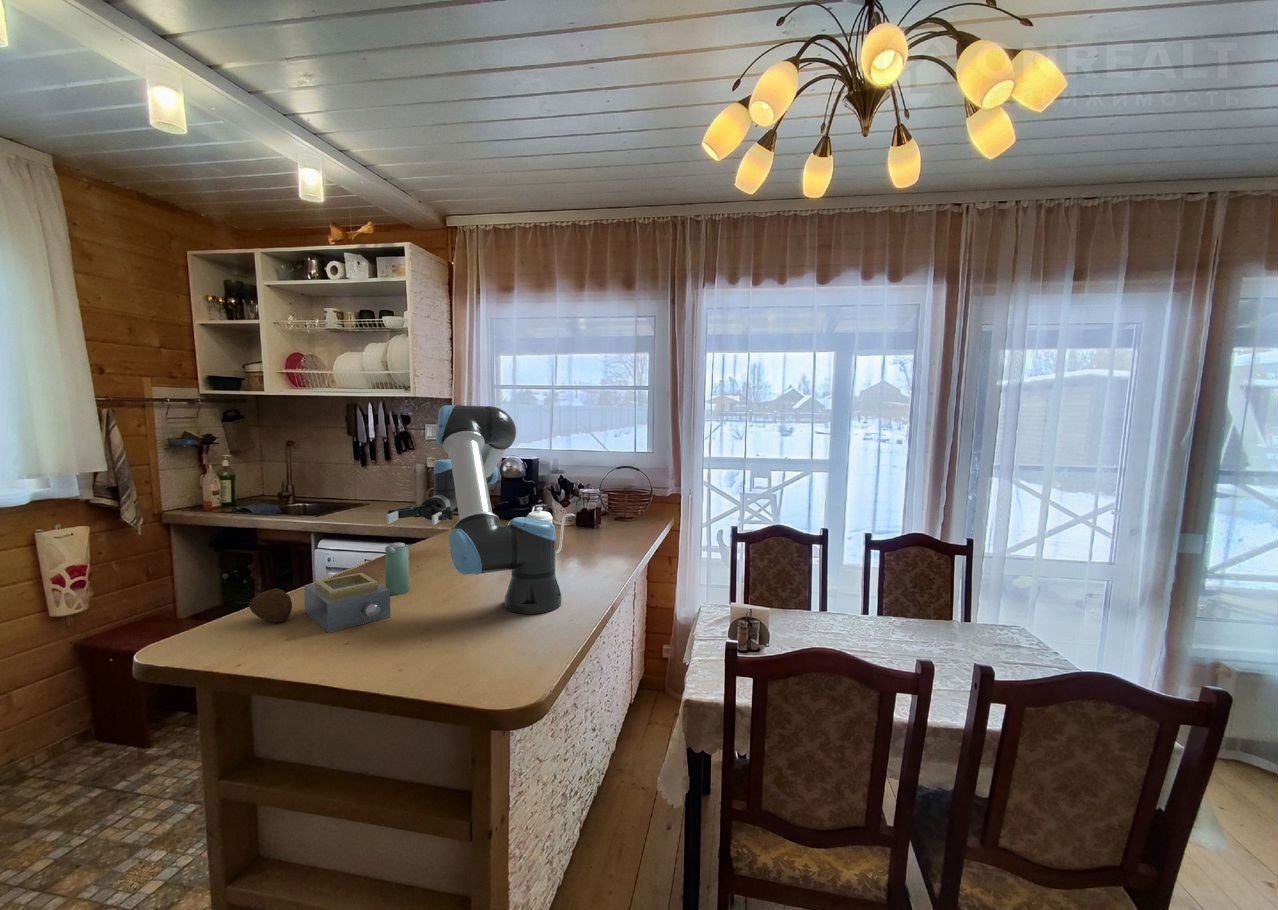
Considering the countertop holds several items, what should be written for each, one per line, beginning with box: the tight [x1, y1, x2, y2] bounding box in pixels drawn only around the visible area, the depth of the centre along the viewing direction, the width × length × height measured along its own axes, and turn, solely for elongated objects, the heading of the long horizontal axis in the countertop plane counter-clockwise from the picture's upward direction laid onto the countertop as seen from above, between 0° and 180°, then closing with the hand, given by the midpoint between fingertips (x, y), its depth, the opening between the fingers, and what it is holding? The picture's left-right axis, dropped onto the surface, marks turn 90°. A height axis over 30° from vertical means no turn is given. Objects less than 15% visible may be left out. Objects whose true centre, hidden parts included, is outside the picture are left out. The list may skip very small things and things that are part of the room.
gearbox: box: [304, 572, 391, 633], centre depth 130 cm, size 21×14×8 cm, turn 47°
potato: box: [248, 587, 293, 624], centre depth 126 cm, size 7×10×8 cm
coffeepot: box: [507, 507, 576, 555], centre depth 185 cm, size 11×25×19 cm, turn 84°
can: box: [384, 542, 410, 596], centre depth 148 cm, size 7×6×14 cm
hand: (410, 519), depth 157 cm, fingers open, 13 cm apart
